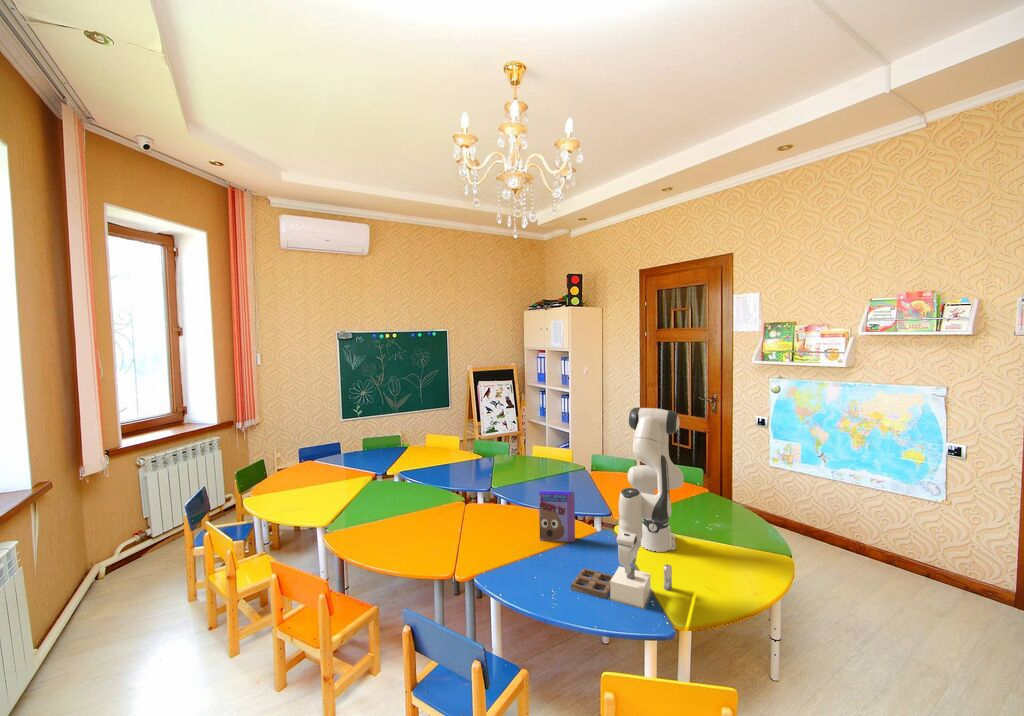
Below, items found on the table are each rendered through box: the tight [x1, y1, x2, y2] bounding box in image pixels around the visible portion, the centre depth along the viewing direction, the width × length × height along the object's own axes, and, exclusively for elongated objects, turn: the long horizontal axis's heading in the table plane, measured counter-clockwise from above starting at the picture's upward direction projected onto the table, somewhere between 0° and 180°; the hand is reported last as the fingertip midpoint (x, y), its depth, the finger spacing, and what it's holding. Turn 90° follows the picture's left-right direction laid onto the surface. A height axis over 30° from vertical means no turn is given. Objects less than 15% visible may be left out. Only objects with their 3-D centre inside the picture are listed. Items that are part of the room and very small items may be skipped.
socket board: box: [570, 567, 614, 600], centre depth 179 cm, size 14×14×3 cm
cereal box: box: [538, 490, 576, 543], centre depth 222 cm, size 17×5×24 cm, turn 81°
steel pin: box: [663, 564, 673, 592], centre depth 175 cm, size 3×3×10 cm
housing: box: [609, 564, 651, 608], centre depth 171 cm, size 12×12×11 cm
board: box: [607, 589, 654, 611], centre depth 172 cm, size 14×14×6 cm
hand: (630, 567), depth 171 cm, fingers open, 8 cm apart
